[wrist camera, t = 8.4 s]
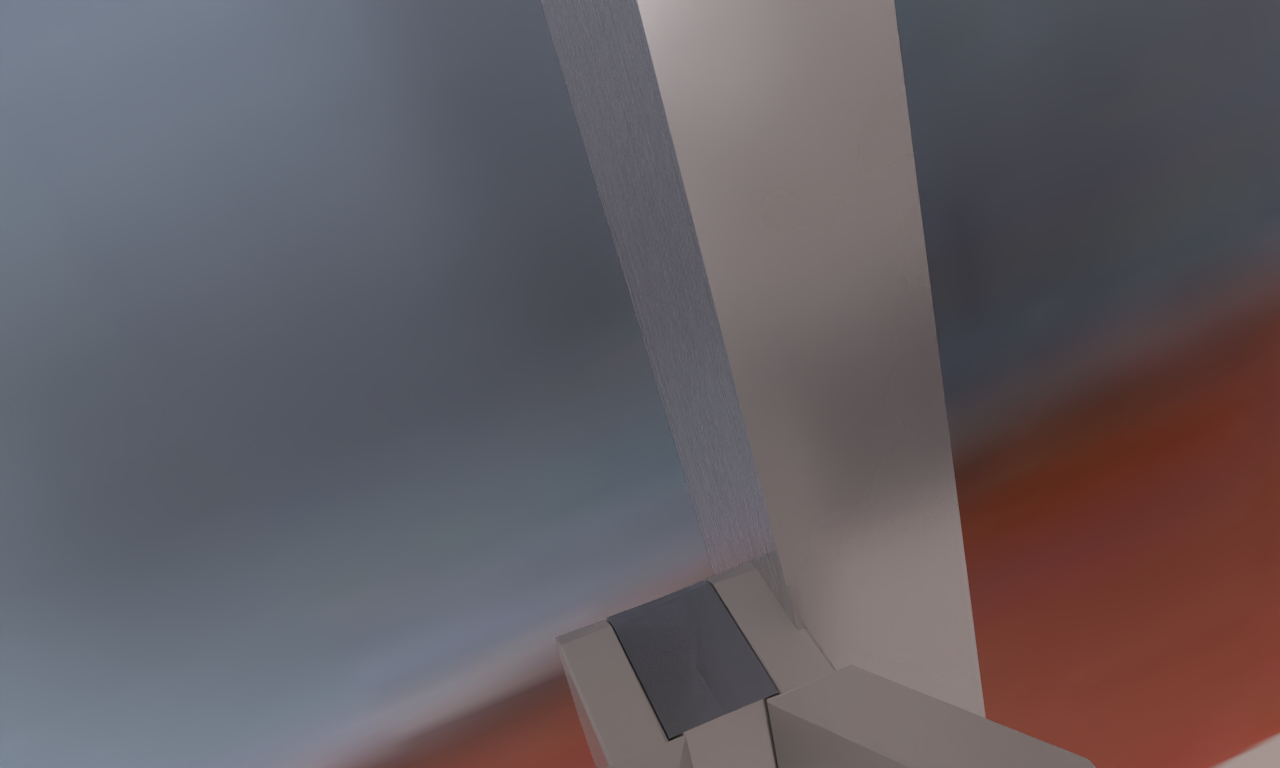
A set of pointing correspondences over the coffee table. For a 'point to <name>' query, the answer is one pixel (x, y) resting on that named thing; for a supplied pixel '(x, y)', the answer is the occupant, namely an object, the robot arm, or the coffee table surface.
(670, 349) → the grey square bar
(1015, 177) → the coffee table surface
